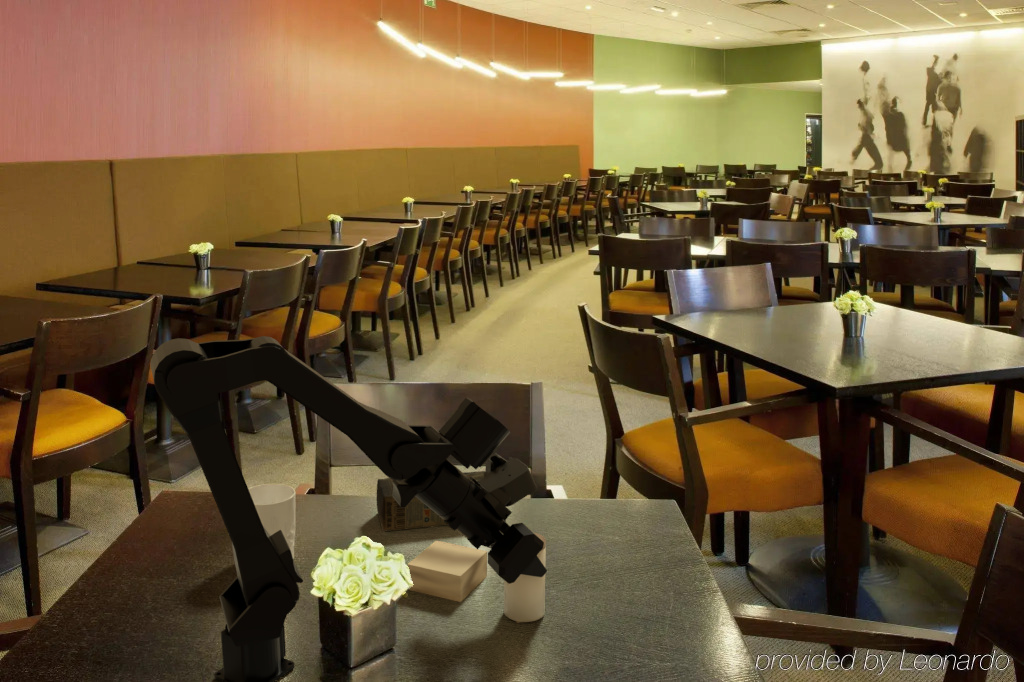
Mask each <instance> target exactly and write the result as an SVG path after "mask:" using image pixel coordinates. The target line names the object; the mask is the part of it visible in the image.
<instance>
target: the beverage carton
mask: <svg viewBox="0 0 1024 682" xmlns="http://www.w3.org/2000/svg"><path fill="white" fill-rule="evenodd" d="M484 472H486V470H482V471H469V472H467V471H466V472H463V473H464V474H465V475H466V476H468V477H470V476H472V477H473V478H474V479H475V480H477V481H479V480H481V479H482V478H483V477H485V475H484ZM392 480H393V479H391V478H389V477H386V478H378V479H377V480H376V481H377V483H376V509H377V510H376V511H377V514H378V518H379V519H378V520H379V523H380V525H381V529H383V530H382V532H392V531H391V530H394V531H401V530H402V529H403V530H411V529H419V528H432V527H431V526H433V527H439V526H440V525H442V526H448V524H447V523H446V522H445V521H444V520H443V519H442V518H441V517H440V516H439V515H437V514H436V513H435V512H434V511H432V510H431V509H430V508H429V507H428V506H426V505H425V504H424V503H423V502H421V501H420V500H419V499H418V498H416V497H414V498H413V499H412V500H411V502H410V503H409V504H408V505H407V506H406V507H405V508H402V507H401V506H400V505H399V504H398V503H397V501H396V500H395V499H394V498H393V483H392ZM440 527H441V526H440ZM386 530H387V531H386ZM388 530H390V531H388ZM403 530H402V531H403Z"/></svg>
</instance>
